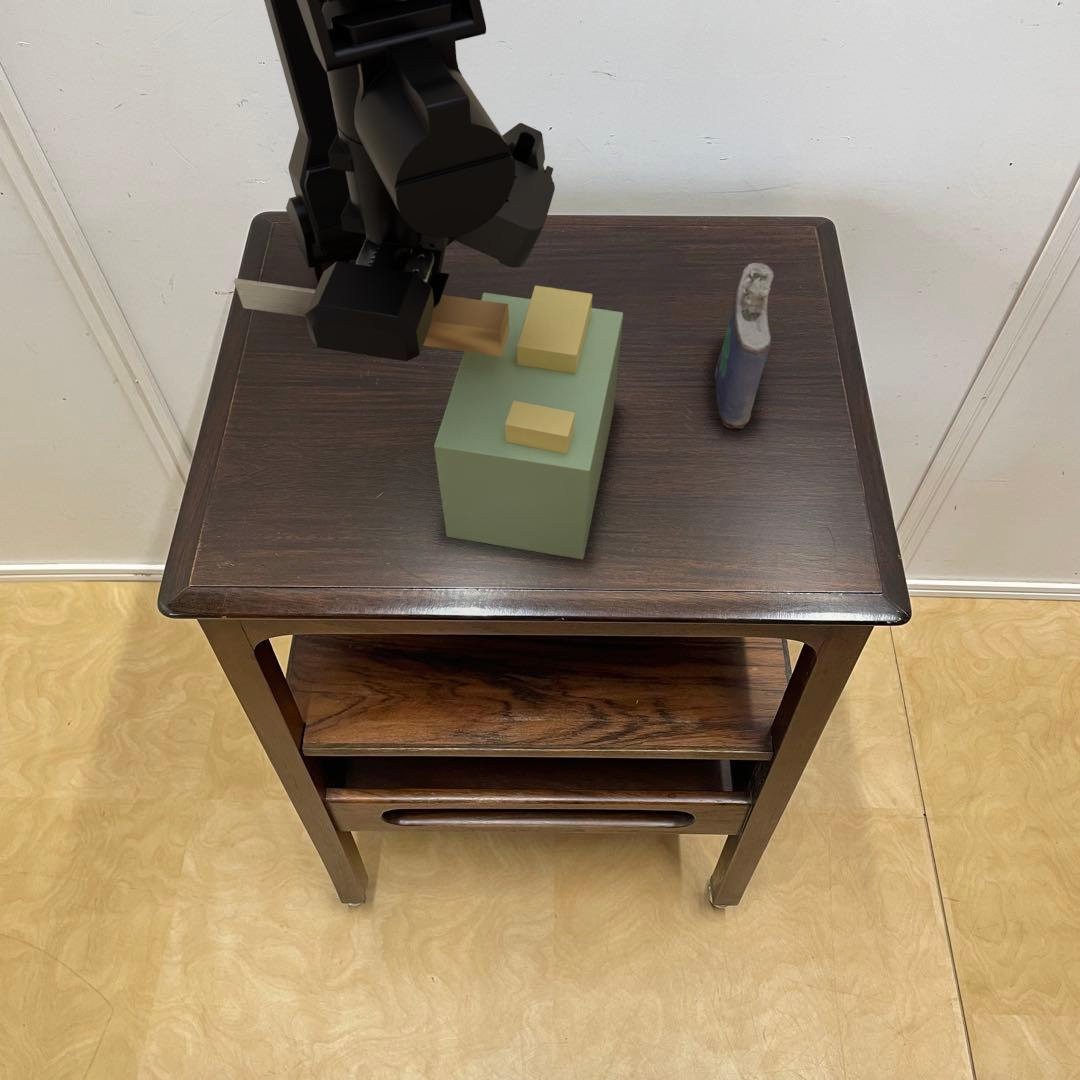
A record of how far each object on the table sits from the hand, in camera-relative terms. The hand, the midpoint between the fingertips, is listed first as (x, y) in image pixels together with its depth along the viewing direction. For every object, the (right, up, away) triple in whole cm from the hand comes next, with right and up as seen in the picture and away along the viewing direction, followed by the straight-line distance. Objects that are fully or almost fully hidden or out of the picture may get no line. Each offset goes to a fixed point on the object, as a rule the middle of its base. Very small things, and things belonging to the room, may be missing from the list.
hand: (419, 328), depth 65 cm
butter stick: (+9, 0, +3) cm, 9 cm away
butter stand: (+7, -9, +10) cm, 15 cm away
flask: (+23, -2, +15) cm, 28 cm away
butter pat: (+8, -7, -2) cm, 11 cm away
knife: (-3, 0, +1) cm, 3 cm away
